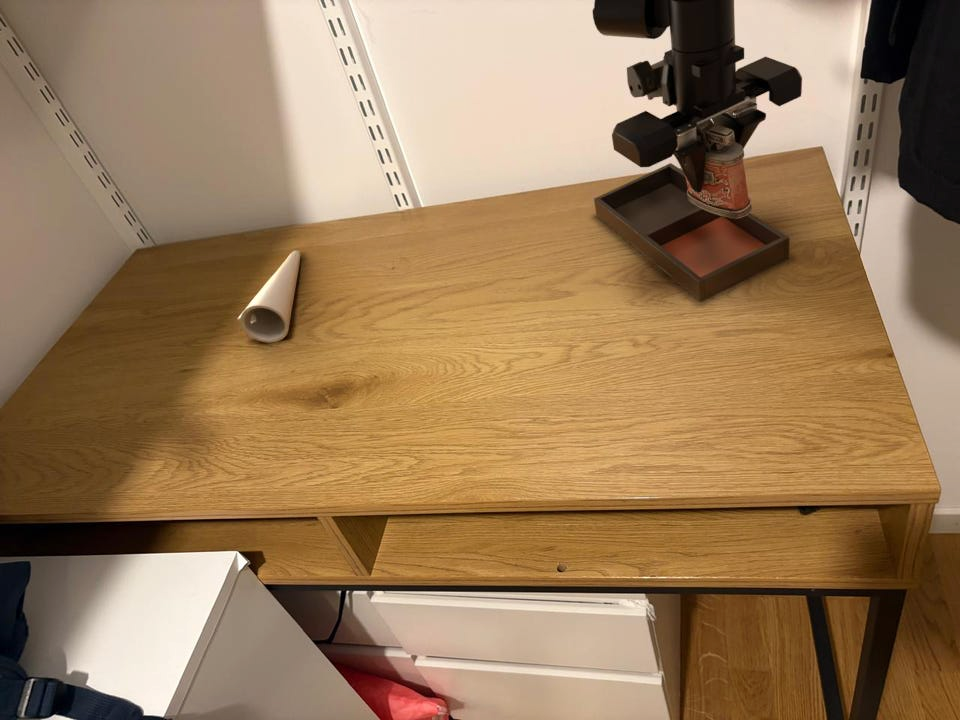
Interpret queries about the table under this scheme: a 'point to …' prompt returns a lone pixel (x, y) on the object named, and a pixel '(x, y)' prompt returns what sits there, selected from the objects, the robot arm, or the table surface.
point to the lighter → (721, 174)
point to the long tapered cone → (272, 304)
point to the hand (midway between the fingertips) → (710, 184)
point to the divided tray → (689, 234)
